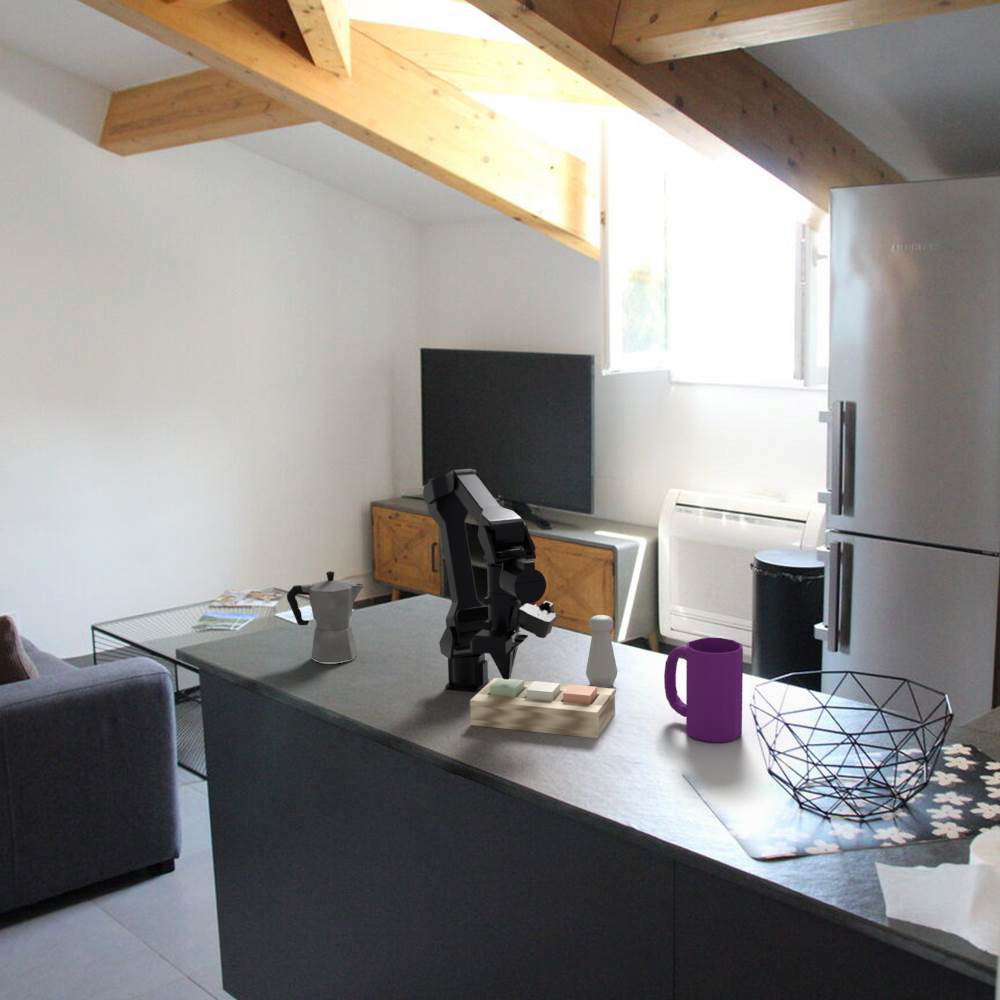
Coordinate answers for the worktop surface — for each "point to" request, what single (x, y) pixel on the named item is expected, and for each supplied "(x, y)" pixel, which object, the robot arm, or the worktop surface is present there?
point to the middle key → (543, 691)
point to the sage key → (507, 687)
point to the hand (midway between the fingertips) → (506, 678)
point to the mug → (708, 688)
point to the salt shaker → (601, 653)
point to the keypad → (543, 712)
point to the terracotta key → (580, 694)
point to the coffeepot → (329, 617)
